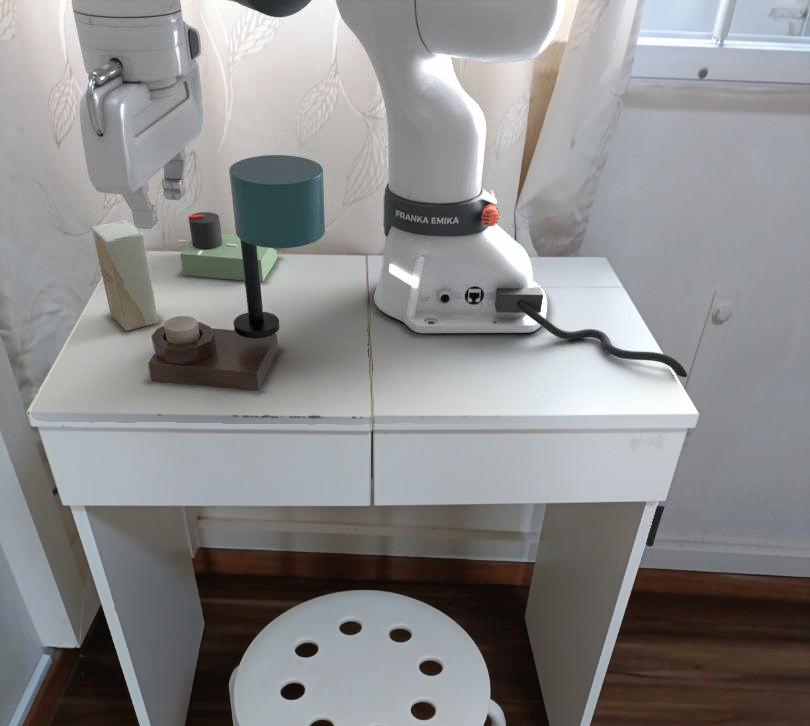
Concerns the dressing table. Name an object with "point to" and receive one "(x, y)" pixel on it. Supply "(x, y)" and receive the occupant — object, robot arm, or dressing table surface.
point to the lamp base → (213, 359)
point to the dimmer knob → (205, 230)
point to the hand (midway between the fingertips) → (161, 211)
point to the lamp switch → (181, 330)
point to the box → (125, 274)
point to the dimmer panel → (223, 260)
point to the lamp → (273, 221)
